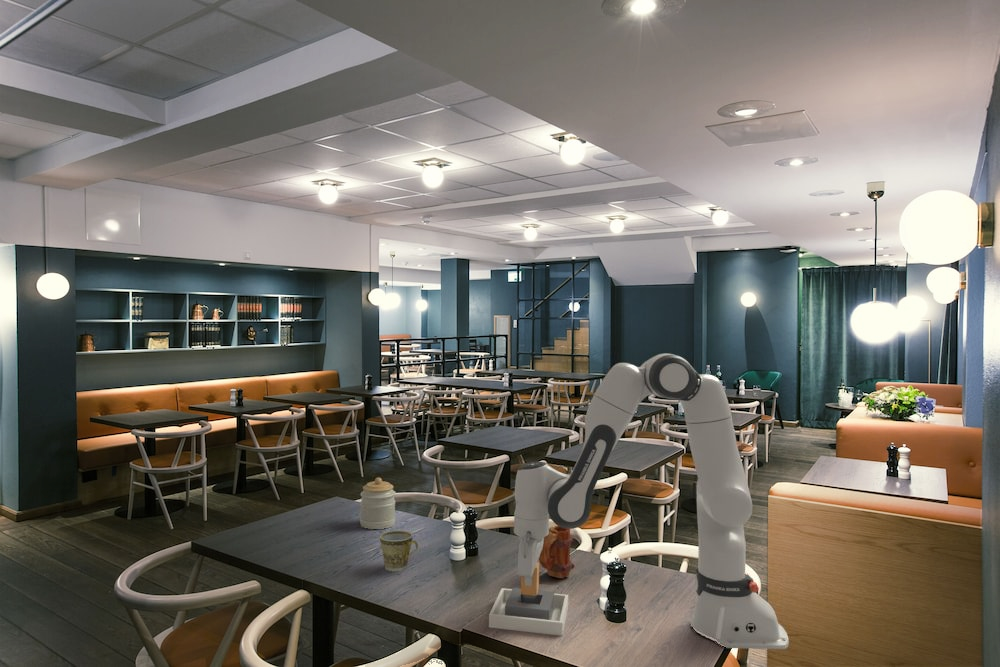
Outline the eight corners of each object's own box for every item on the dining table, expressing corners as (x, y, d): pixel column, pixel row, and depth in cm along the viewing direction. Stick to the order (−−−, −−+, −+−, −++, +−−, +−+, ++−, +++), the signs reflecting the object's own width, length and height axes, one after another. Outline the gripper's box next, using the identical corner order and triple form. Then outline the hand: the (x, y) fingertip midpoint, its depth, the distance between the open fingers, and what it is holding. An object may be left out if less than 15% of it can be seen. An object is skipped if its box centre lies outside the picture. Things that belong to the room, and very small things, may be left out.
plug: (538, 593, 159) (539, 562, 159) (536, 599, 155) (537, 568, 155) (523, 591, 160) (523, 560, 159) (520, 598, 156) (521, 566, 156)
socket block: (554, 608, 162) (554, 591, 161) (549, 628, 151) (549, 610, 151) (512, 604, 164) (512, 587, 164) (504, 623, 153) (505, 605, 153)
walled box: (568, 609, 163) (568, 594, 163) (562, 639, 148) (562, 623, 148) (501, 602, 167) (501, 588, 167) (488, 631, 151) (489, 614, 151)
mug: (556, 567, 192) (557, 519, 192) (578, 574, 187) (579, 525, 187) (528, 581, 181) (529, 530, 181) (551, 589, 176) (552, 537, 176)
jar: (384, 517, 240) (385, 472, 240) (401, 525, 230) (402, 478, 230) (353, 523, 232) (354, 476, 232) (370, 532, 222) (370, 483, 222)
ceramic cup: (372, 570, 188) (372, 537, 188) (392, 559, 197) (393, 528, 197) (407, 578, 182) (407, 544, 182) (426, 567, 191) (427, 535, 191)
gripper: (538, 540, 146) (536, 599, 146) (548, 515, 166) (547, 566, 166) (511, 538, 147) (510, 596, 148) (525, 513, 168) (524, 564, 168)
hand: (530, 580), depth 157 cm, fingers closed on plug, 4 cm apart
